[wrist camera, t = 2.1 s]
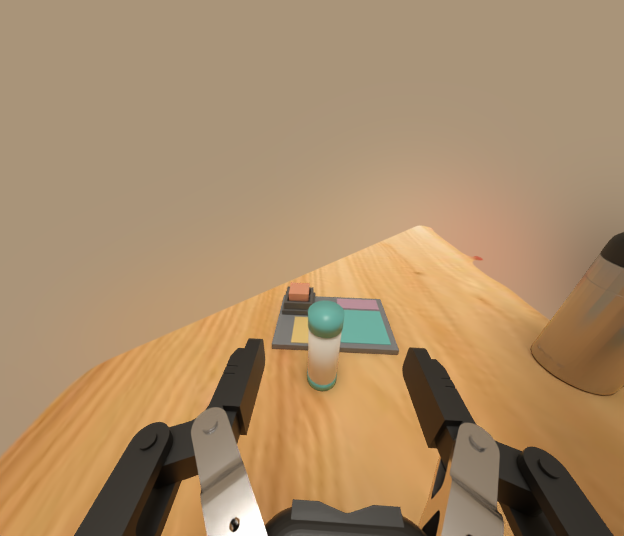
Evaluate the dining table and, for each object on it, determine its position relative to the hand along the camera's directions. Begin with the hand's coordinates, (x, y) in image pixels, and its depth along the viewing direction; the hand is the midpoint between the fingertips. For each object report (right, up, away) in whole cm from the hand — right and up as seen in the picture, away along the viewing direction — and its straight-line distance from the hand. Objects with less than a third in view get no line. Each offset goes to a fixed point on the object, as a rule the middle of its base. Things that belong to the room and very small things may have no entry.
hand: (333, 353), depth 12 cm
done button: (-4, 0, +30) cm, 30 cm away
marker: (0, -11, +19) cm, 22 cm away
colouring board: (+3, -5, +28) cm, 29 cm away
